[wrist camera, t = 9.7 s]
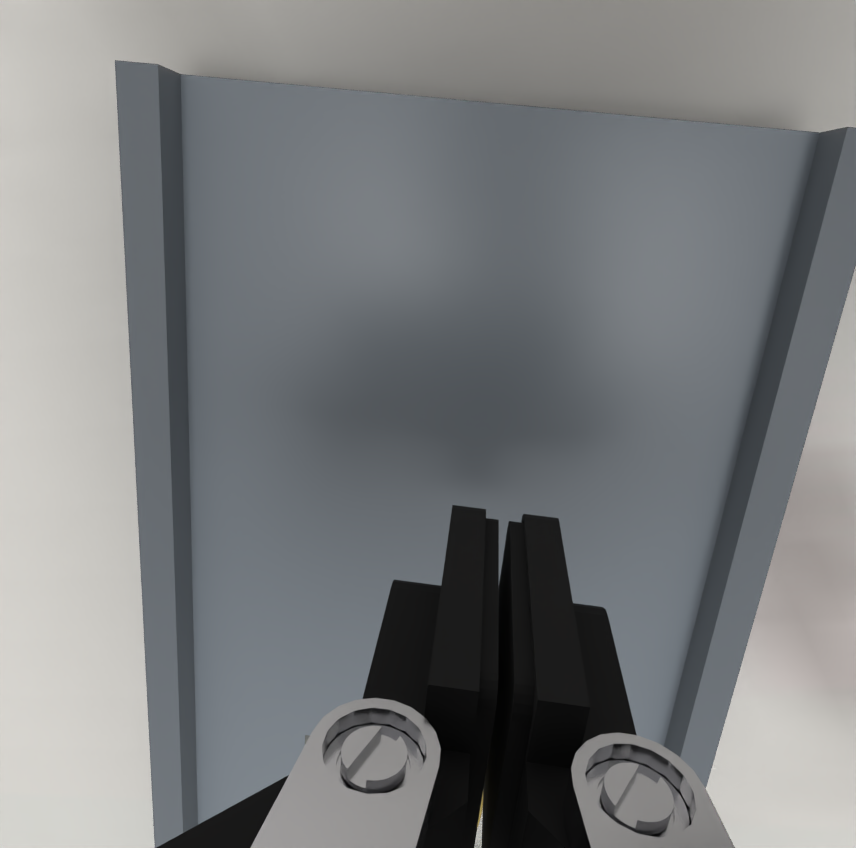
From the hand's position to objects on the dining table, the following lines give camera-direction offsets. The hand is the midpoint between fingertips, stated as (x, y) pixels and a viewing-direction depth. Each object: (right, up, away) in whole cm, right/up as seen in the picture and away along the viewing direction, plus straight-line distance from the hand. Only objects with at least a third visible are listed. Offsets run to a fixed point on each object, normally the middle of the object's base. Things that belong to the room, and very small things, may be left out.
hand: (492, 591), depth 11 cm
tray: (-1, -3, +9) cm, 9 cm away
